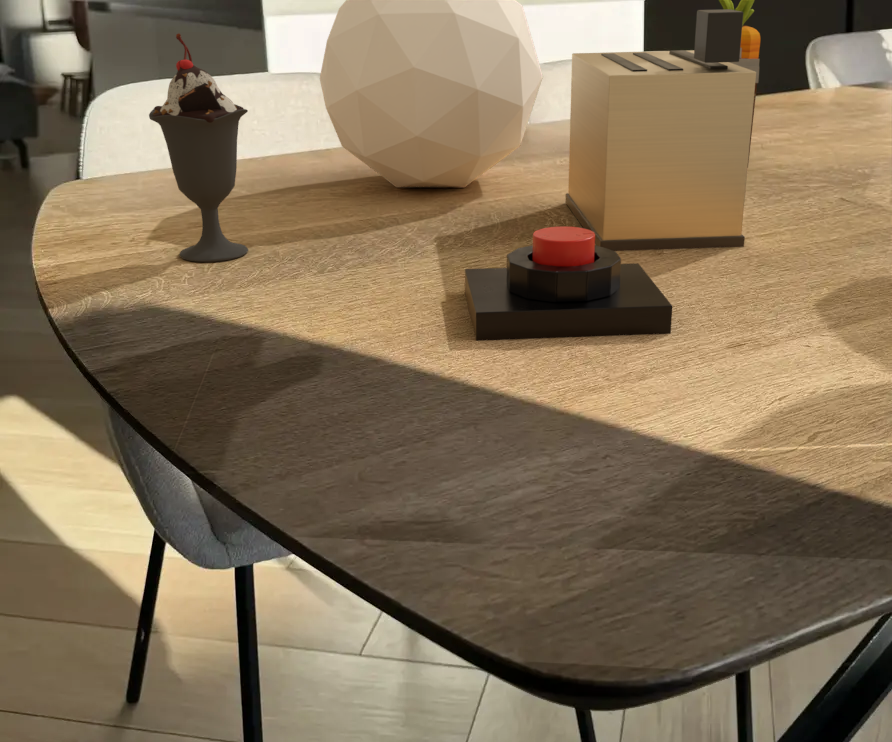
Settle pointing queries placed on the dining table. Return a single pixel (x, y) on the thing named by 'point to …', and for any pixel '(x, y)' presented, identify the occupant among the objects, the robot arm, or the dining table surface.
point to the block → (564, 299)
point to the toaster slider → (718, 35)
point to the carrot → (746, 29)
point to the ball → (430, 86)
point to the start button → (563, 246)
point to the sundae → (202, 152)
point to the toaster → (659, 149)
